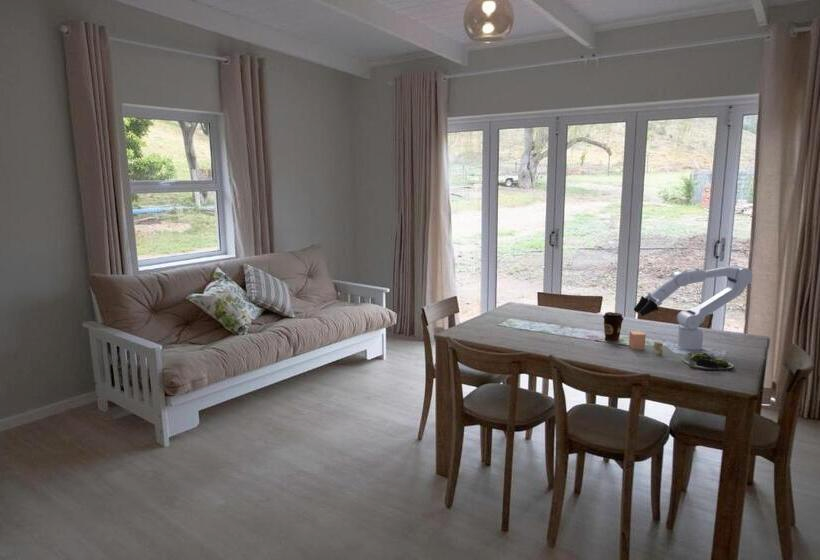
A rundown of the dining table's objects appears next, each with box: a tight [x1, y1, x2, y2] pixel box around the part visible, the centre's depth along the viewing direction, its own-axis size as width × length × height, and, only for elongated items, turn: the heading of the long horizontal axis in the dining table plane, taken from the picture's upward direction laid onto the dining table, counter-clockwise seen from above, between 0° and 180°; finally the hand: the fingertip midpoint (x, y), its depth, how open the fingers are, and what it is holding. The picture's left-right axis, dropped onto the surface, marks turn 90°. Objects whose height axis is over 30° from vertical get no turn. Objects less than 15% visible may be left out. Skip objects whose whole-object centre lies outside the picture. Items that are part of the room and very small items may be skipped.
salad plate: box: [681, 352, 735, 372], centre depth 222 cm, size 19×18×5 cm
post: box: [653, 341, 664, 355], centre depth 234 cm, size 3×3×5 cm
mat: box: [626, 344, 681, 359], centre depth 238 cm, size 17×17×1 cm
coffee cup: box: [602, 311, 624, 343], centre depth 254 cm, size 9×8×13 cm
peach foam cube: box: [628, 330, 647, 349], centre depth 243 cm, size 5×5×7 cm
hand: (637, 312), depth 242 cm, fingers open, 7 cm apart
